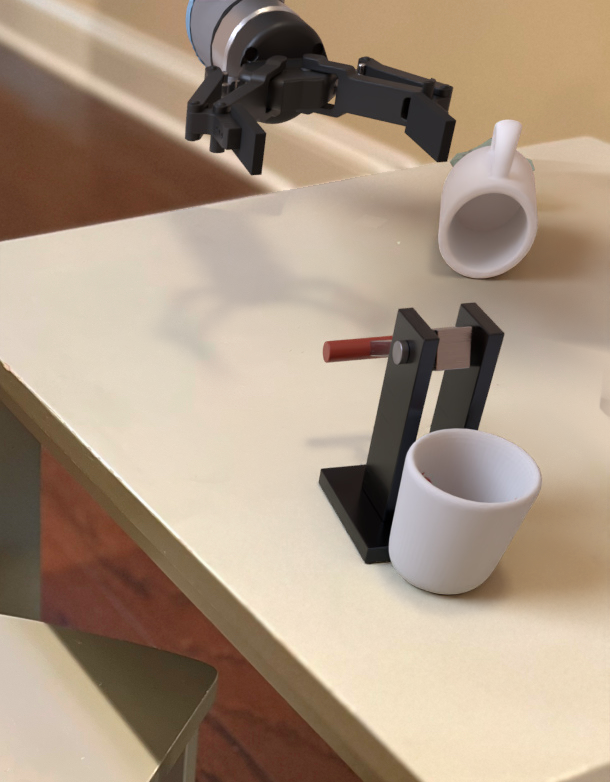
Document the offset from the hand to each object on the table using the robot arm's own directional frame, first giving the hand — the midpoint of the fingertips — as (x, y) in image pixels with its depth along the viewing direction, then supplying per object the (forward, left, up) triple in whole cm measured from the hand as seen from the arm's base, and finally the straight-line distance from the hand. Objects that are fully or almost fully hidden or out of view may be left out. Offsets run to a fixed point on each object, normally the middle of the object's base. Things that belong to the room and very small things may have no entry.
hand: (353, 148), depth 82 cm
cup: (-11, +22, -17) cm, 30 cm away
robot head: (-11, -40, -18) cm, 45 cm away
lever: (-7, +14, -9) cm, 18 cm away
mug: (-11, -28, -18) cm, 35 cm away
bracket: (-8, +18, -17) cm, 26 cm away
